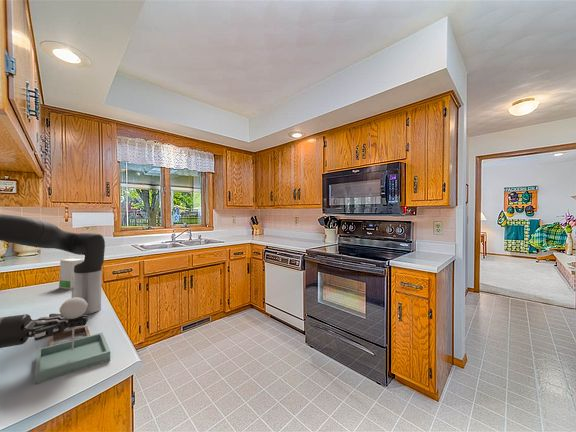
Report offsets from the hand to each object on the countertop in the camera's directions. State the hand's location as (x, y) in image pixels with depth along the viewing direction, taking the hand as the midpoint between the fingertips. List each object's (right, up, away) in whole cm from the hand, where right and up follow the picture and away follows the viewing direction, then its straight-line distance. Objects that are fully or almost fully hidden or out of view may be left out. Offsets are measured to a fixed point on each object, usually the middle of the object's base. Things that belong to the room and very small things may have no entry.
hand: (86, 319), depth 73 cm
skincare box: (-63, -10, +66) cm, 92 cm away
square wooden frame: (-12, -11, +8) cm, 18 cm away
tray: (-3, -11, -1) cm, 11 cm away
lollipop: (-3, -8, -2) cm, 9 cm away
